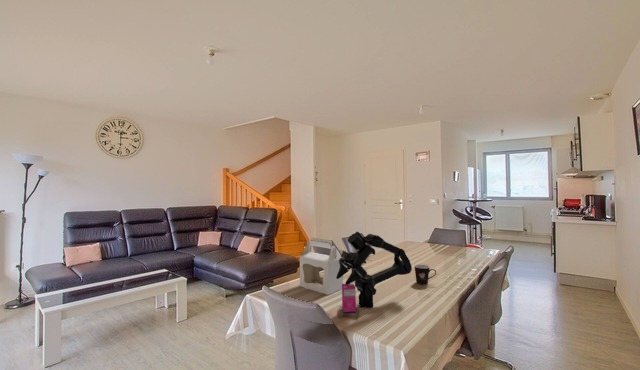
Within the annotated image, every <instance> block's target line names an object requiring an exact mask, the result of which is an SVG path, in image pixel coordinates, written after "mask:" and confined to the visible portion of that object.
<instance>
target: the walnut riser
mask: <svg viewBox="0 0 640 370" xmlns="http://www.w3.org/2000/svg"><path fill="white" fill-rule="evenodd" d="M359 314H360V306H356V313H344V312H343V308H342V305H339V308H338V312H337V318H341V319H343V318H344V319H359V316H360V315H359Z"/></svg>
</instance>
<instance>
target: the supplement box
mask: <svg viewBox="0 0 640 370" xmlns="http://www.w3.org/2000/svg"><path fill="white" fill-rule="evenodd" d="M341 298H342V299H341V303H342V305H341V306H342V308H343V312H344V313H356V307H357V304H356V303H357V300H356V286H355V283H354V282H352V283H350V284H348V285H346V284H345V283H343V284H342V289H341Z"/></svg>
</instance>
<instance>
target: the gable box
mask: <svg viewBox="0 0 640 370" xmlns="http://www.w3.org/2000/svg"><path fill="white" fill-rule="evenodd" d="M314 247H318V248H324V249H329V254H324V253H321V252H316V251H315V249H314ZM341 255H342V254H341V253H340V252H339V250H338V248H337V247H336V246H335V245H334V244H333V241H332V240H330V239H323V238H315V237H310V239H308V241H307V242H306V246H305V247H304V249H303V251H302V252H301V255H300V256H299V287H302V288H304V289H307V290H310V291H313V292H317V293H321V294H323V293H324V295H326V296H329V295H332V294H334V293H336V292H338V291H340V290H341V291H342V284H344V275H343V276H342V277H340V278H339V279H337V278H336V277H337V274H338V272H339V269H340V264H339V259H340V258H343V257H341ZM320 268H322V269H323V271H324V274H323V277H321V276H320V270H321V269H320Z"/></svg>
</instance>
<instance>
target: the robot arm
mask: <svg viewBox="0 0 640 370" xmlns="http://www.w3.org/2000/svg"><path fill="white" fill-rule="evenodd" d="M347 242H348V243H349V244H350V245H351V246H352V248H353V249H355V250H357V251H356V252H352V251H350V252H347V251H345V250H342V252H341V254H340V255H341V257H342V258H340V259H339V264H340V269H339V272H338V274H337V277H336V278H337V279H339V278H340V277H342V276H343V277H344V275H346V274H347V273H348V272H349V271H350V269H351V272H350V275H349V276H348V277H347V279H346V281H345V283H344V284H346V285H348V284H352V283H354V286H355V289H356V290H357V291H358V292H359V294H358V305H359V308H369V309H373V308H374V295H376V294H377V289H376V288H375V286H376V285H378V284H380V283H382V282H385V281H387V280H390V279H391V278H394V277H396V276H400V275H402V276H403V275H409V274H411V272H412V269H413V268H412V264H411V260H410V259H409V257H408V256H407V254H406V251H405V249H403V248H399V247H398V246H395V245H393V244H391V243H390V242H387V241H385V240H384V239H383V238H382V237H381V236H380V235H376V234H373V233H368V234H367V235H366V236H362V234H361V233H360V232H359V231H356V232H355V233H353V234H351V235H349V237H347ZM373 247H374V248H373ZM375 248H377V249H383V250H384V251H386V252H389V253H391V254H393V255H394V258H393V264H392V266H390V267H387V268H385V269H384V270H381V271H378V272H376V273H374V274H371V275H370V274H368V271H367V270H366V269H365V268H364V267H363V266H362V265H363V264H366V263H367V261H366V260H367V259H368V258H369V256H370V255H373V256H375V255H376V251H375Z"/></svg>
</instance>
